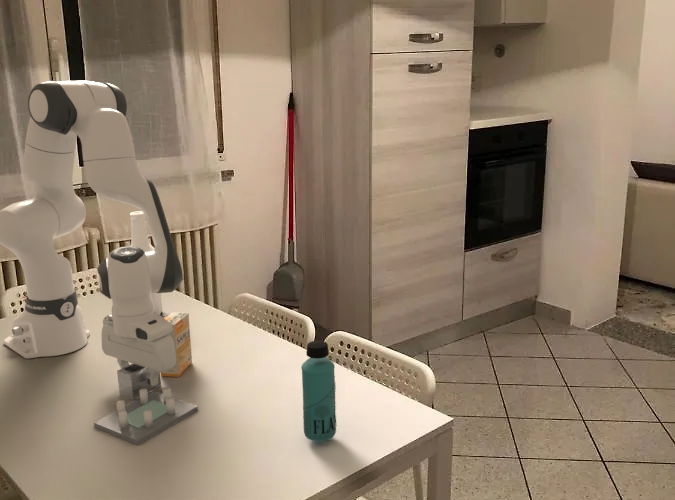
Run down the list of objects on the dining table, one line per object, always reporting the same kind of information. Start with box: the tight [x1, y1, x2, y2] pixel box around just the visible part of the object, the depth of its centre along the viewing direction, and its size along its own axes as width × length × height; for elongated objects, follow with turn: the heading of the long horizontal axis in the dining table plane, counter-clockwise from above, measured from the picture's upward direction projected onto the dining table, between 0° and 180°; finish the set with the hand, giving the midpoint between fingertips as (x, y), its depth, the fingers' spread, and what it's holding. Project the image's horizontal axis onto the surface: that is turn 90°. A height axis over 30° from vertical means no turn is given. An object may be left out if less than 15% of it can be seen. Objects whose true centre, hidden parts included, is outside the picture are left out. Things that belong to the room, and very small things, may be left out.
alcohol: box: [129, 210, 163, 316], centre depth 199 cm, size 9×9×30 cm
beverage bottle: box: [300, 340, 338, 442], centre depth 133 cm, size 6×7×20 cm
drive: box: [116, 363, 162, 401], centre depth 156 cm, size 4×8×6 cm, turn 146°
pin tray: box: [93, 387, 198, 446], centre depth 144 cm, size 13×16×4 cm
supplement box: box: [160, 311, 193, 378], centre depth 165 cm, size 8×5×13 cm, turn 168°
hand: (140, 380), depth 156 cm, fingers open, 7 cm apart
